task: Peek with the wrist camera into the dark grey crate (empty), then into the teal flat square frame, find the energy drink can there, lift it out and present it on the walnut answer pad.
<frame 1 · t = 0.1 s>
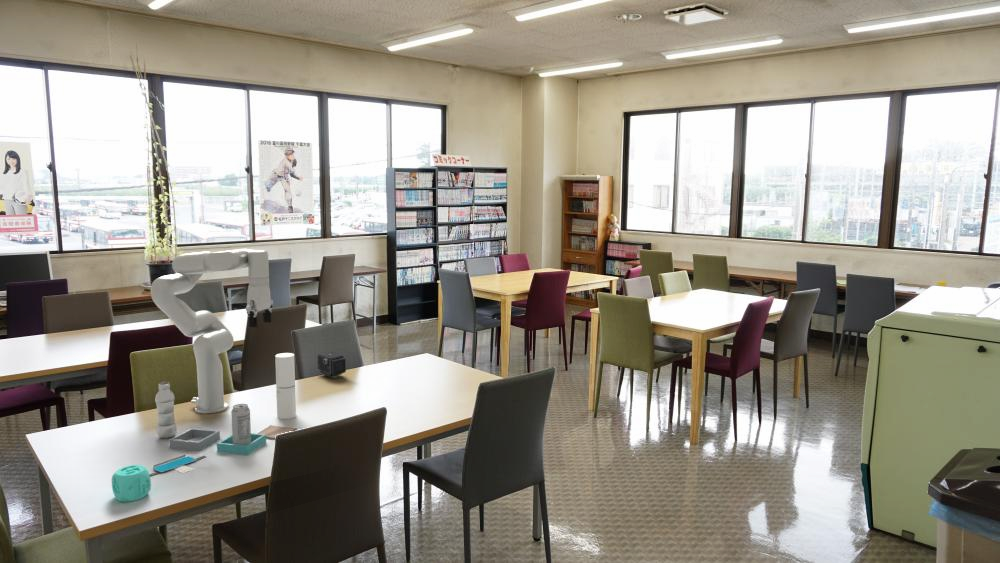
hand: (260, 324, 263), 37 cm above the table, tool pointing down, fingers open, 9 cm apart
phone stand: (178, 469, 216), on the table
teal flat square frame: (242, 447, 233), on the table
answer pad: (275, 433, 247), on the table
cylindrical container: (286, 416, 266), on the table
camera: (331, 376, 323), on the table
energy drink can: (242, 447, 233), resting in teal flat square frame
grey crate: (195, 443, 236), on the table
decorative dice: (132, 496, 196), on the table
plastic bottle: (167, 437, 242), on the table
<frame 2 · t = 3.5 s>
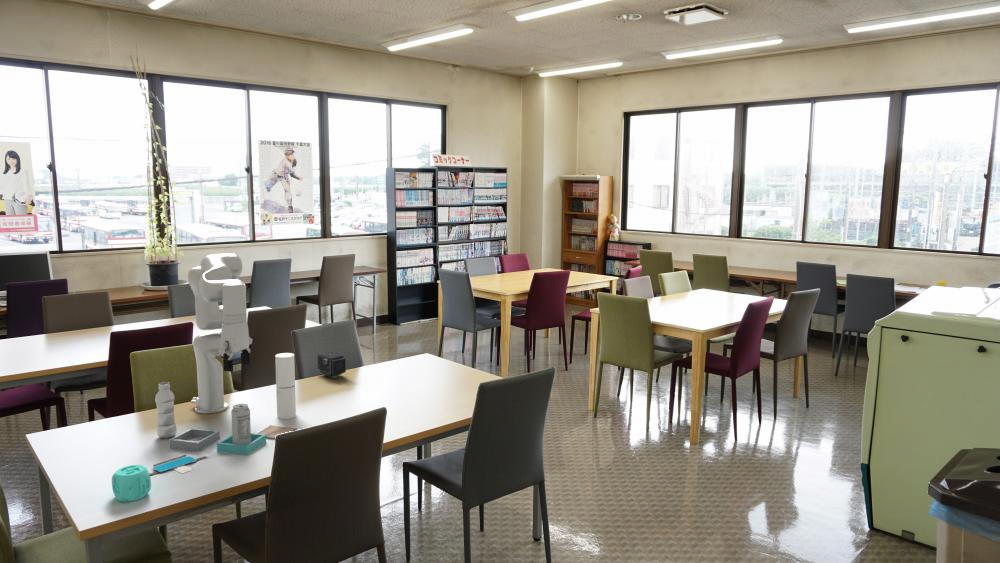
hand: (237, 367, 229), 29 cm above the table, tool pointing down, fingers open, 9 cm apart
nothing on the table moved.
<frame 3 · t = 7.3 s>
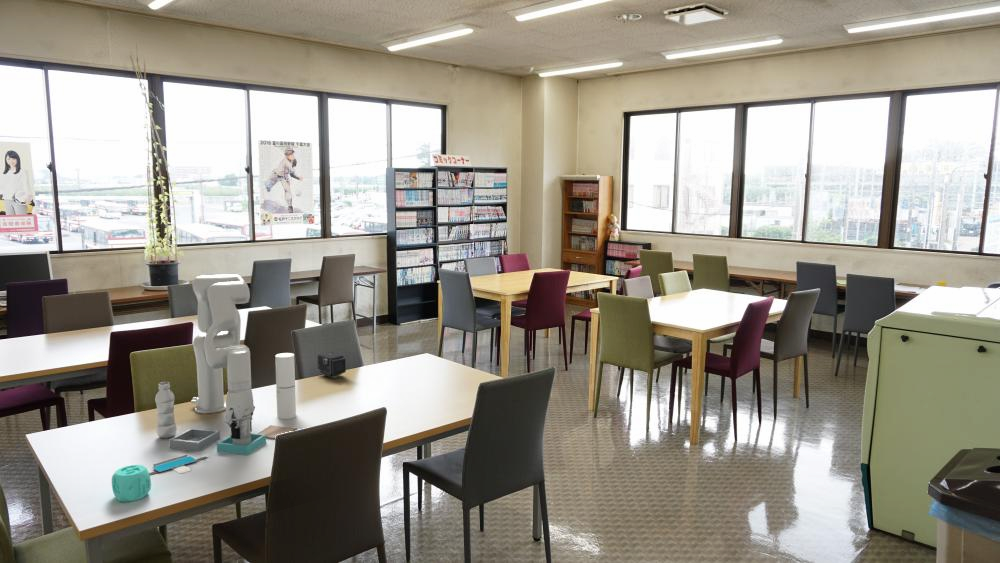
hand: (241, 434, 233), 5 cm above the table, tool pointing down, fingers closed on energy drink can, 6 cm apart
energy drink can: (242, 447, 233), resting in teal flat square frame, touching gripper
everything else where it was.
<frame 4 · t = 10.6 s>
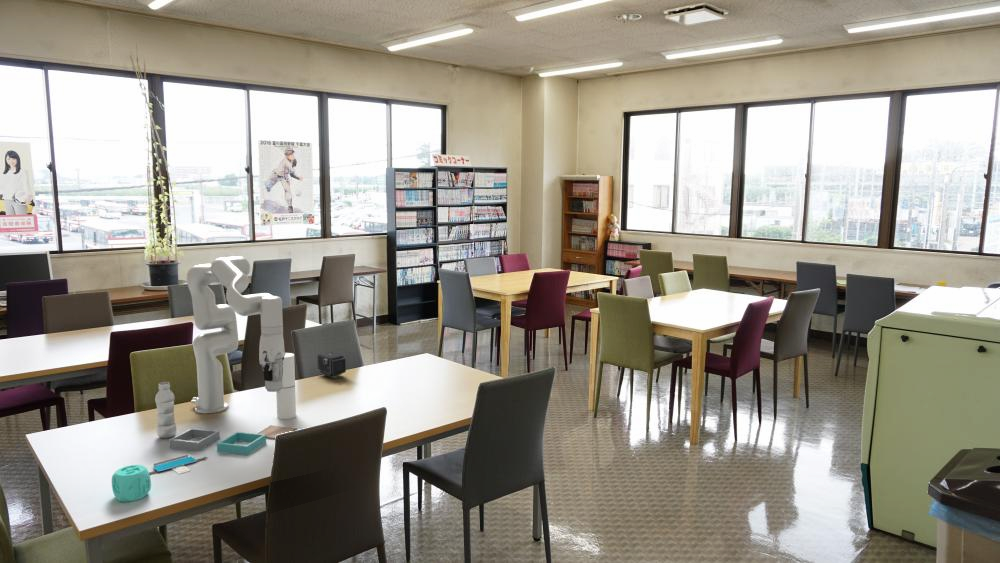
hand: (273, 377, 244), 21 cm above the table, tool pointing down, fingers closed on energy drink can, 6 cm apart
energy drink can: (274, 390, 245), point 16 cm above the table, touching gripper
everything else where it was.
when the fingers open (6 cm above the table, at t = 14.2 s): energy drink can drops 1 cm, resting on answer pad.
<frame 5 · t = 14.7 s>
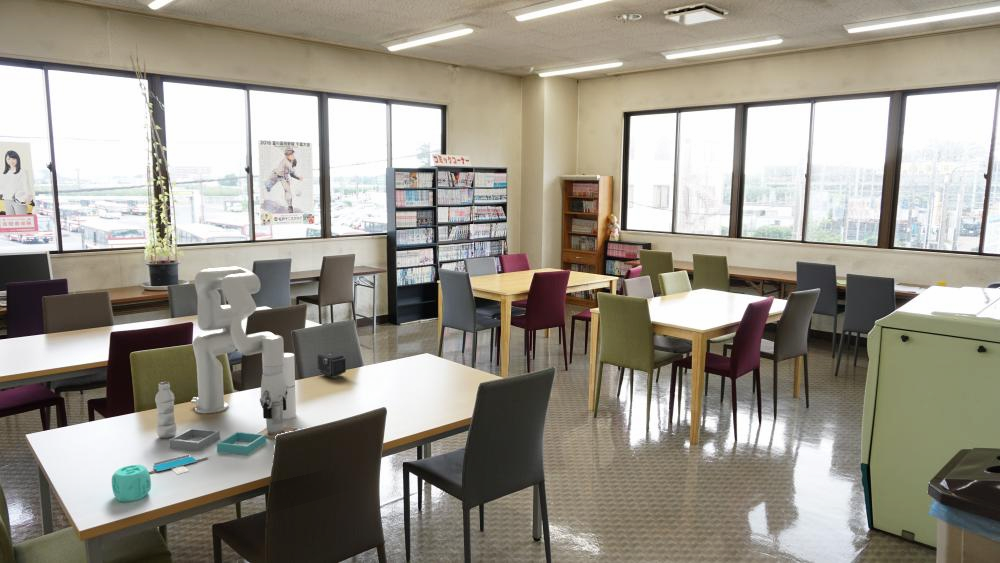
hand: (275, 414, 246), 7 cm above the table, tool pointing down, fingers open, 9 cm apart
energy drink can: (275, 432, 247), resting on answer pad
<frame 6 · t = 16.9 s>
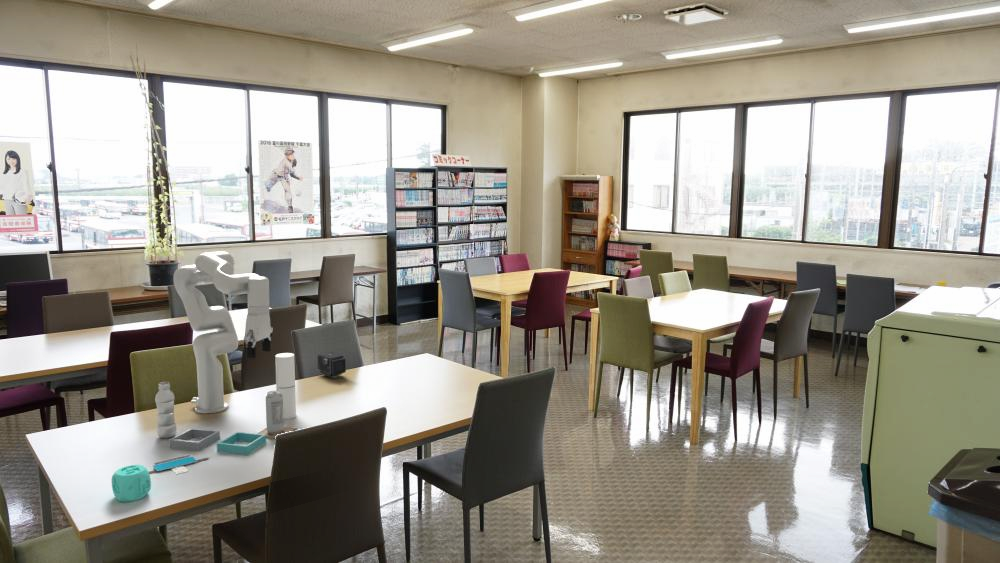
hand: (259, 354, 250), 28 cm above the table, tool pointing down, fingers open, 9 cm apart
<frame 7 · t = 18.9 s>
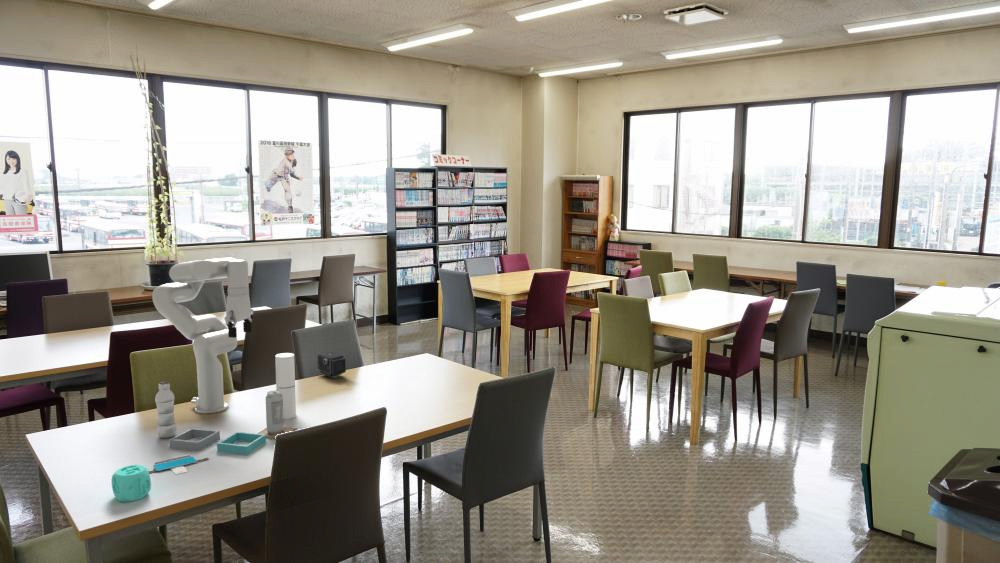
hand: (240, 334, 260), 33 cm above the table, tool pointing down, fingers open, 9 cm apart
at the end: energy drink can inside the target area on the answer pad (0.2 cm from its centre), point 0.4 cm above the answer pad's base; energy drink can tilted 0°; the gripper is holding nothing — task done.
